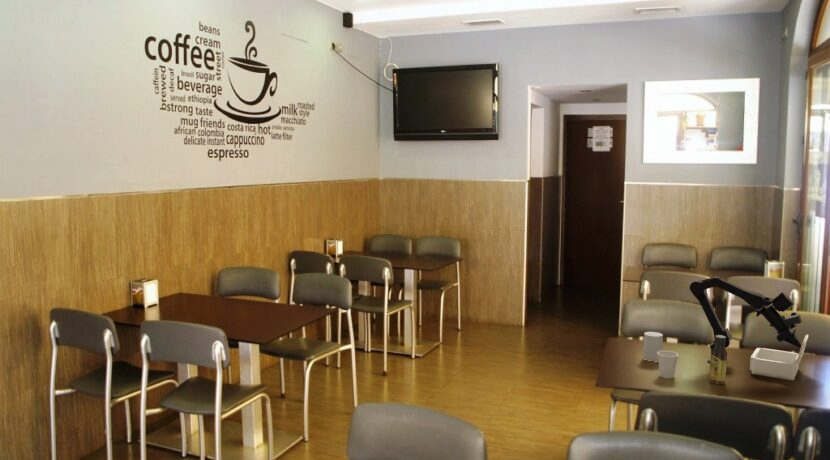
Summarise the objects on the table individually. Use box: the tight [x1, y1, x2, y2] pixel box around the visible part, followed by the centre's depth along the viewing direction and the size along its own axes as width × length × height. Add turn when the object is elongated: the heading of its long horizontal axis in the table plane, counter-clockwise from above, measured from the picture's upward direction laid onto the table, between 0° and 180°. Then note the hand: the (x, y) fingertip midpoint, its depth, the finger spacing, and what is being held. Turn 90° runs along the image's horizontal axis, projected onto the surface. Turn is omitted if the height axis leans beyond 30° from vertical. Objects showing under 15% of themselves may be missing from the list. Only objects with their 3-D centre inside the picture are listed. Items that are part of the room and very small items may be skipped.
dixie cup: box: [658, 350, 679, 379], centre depth 290 cm, size 8×8×10 cm
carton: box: [749, 347, 800, 381], centre depth 297 cm, size 17×20×7 cm
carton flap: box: [796, 334, 810, 365], centre depth 290 cm, size 9×17×1 cm
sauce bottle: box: [708, 335, 728, 385], centre depth 282 cm, size 6×6×20 cm
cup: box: [642, 331, 664, 361], centre depth 313 cm, size 8×8×12 cm
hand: (801, 347), depth 290 cm, fingers closed, pressing on carton flap
